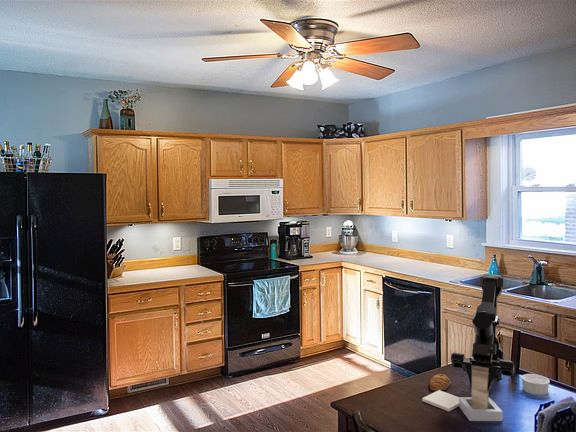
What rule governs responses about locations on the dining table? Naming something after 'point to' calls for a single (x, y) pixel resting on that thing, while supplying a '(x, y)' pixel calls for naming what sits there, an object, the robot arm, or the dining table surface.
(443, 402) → the tile
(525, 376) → the ramekin
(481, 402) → the peg
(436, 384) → the pastry
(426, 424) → the dining table surface
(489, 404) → the holder
